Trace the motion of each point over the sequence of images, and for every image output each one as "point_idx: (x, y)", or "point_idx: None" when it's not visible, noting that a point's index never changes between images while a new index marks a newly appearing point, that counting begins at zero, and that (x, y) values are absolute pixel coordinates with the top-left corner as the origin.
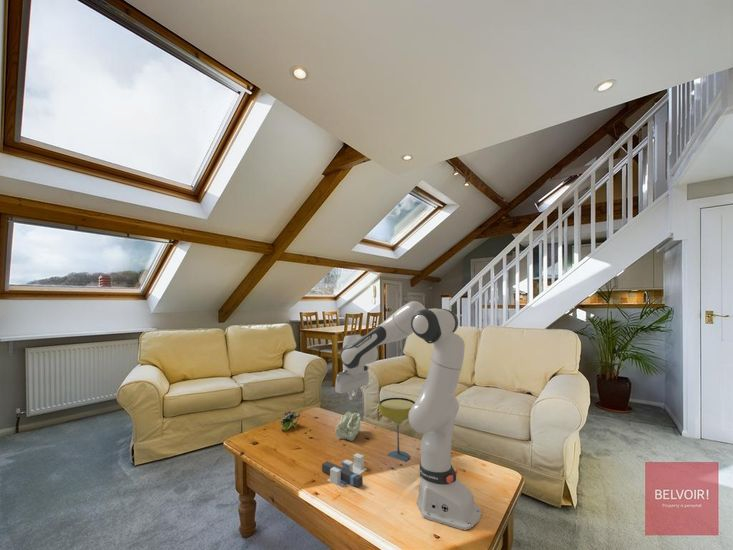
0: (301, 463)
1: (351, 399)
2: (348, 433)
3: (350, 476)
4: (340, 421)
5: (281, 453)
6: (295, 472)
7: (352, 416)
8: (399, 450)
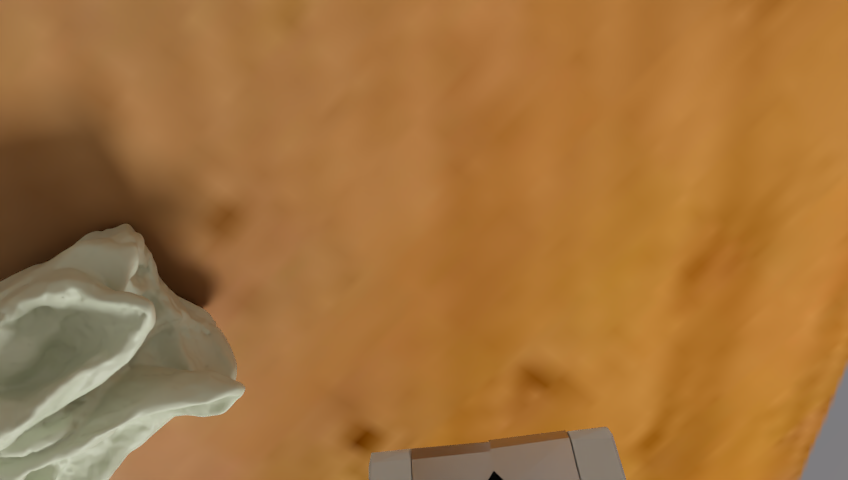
0: (696, 205)
1: (610, 438)
2: (143, 287)
3: None
4: (133, 447)
5: (665, 386)
6: (831, 129)
7: (13, 425)
8: None
